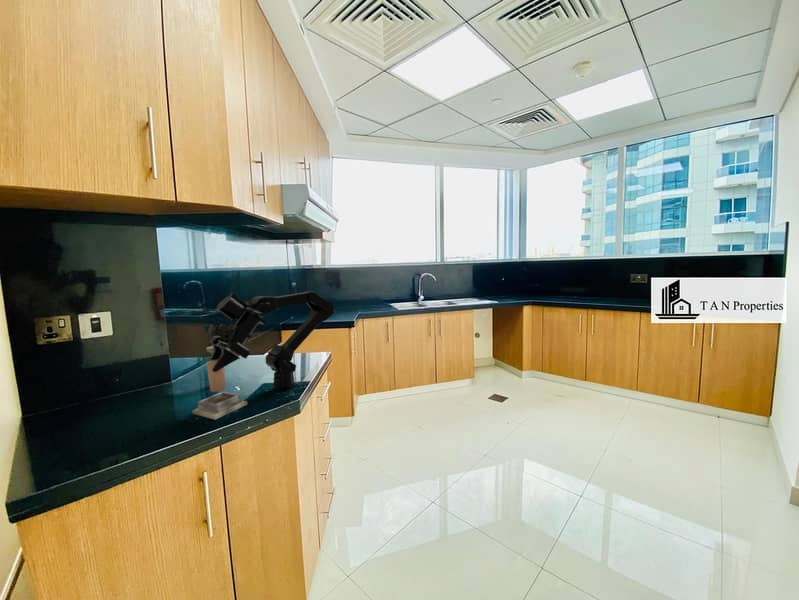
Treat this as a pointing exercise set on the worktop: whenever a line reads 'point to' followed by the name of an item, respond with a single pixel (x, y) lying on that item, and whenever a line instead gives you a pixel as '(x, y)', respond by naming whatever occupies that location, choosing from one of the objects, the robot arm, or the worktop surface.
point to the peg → (216, 377)
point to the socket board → (219, 405)
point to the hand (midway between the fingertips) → (211, 369)
